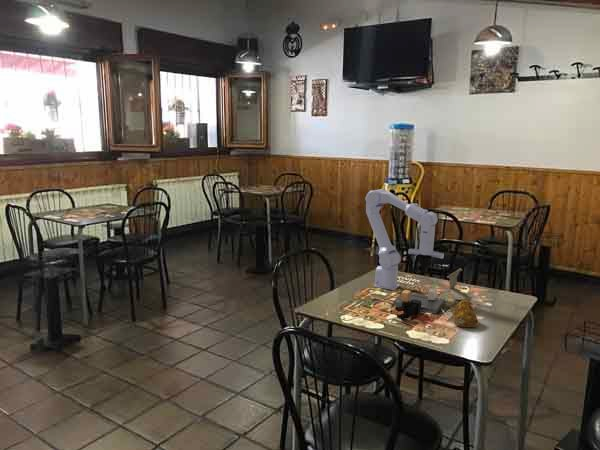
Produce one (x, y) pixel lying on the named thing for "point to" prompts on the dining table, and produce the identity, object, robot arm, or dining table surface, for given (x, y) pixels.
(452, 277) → the jawbone
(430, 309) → the panel
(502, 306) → the dining table surface
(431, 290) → the block
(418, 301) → the toy
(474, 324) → the rock
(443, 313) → the dining table surface
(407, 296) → the fader orange
